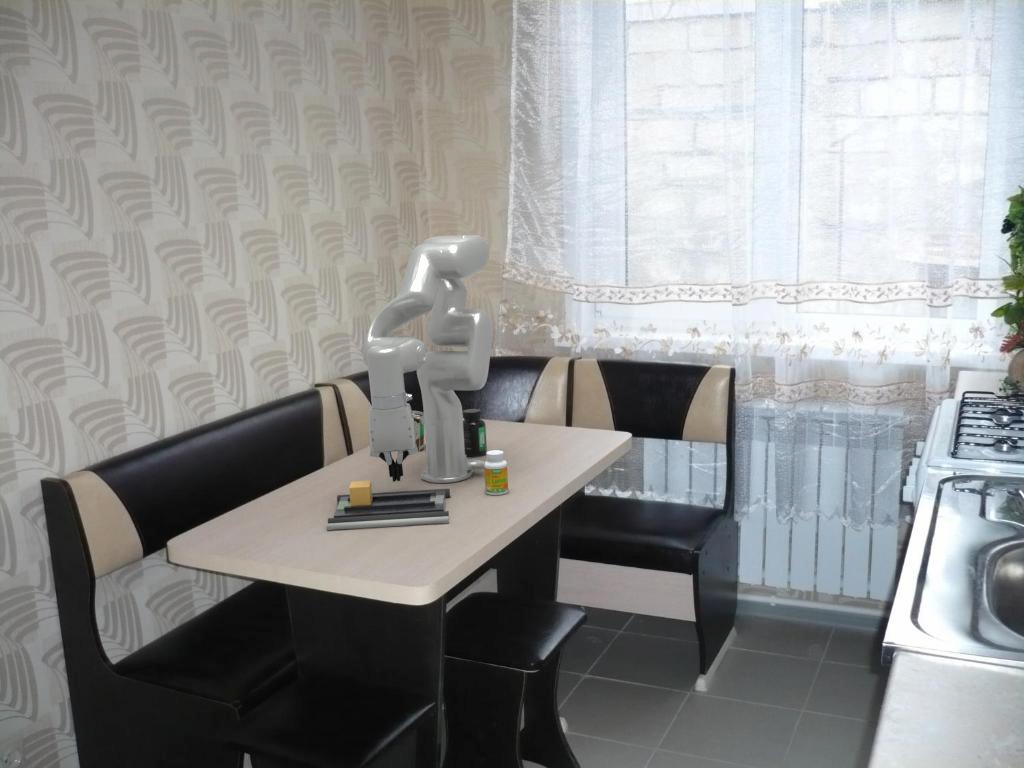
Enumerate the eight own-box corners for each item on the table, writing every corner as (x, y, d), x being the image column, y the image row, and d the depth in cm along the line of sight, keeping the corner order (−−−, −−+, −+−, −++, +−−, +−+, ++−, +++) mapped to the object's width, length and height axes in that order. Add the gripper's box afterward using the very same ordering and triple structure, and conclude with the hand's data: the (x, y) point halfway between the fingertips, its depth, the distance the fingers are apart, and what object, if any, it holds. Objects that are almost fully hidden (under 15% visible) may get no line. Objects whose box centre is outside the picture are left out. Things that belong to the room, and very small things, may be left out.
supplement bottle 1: (489, 456, 281) (487, 412, 279) (464, 458, 279) (461, 414, 277) (484, 450, 288) (481, 406, 285) (459, 452, 286) (456, 409, 284)
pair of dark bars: (450, 495, 247) (449, 487, 247) (448, 523, 227) (448, 514, 227) (338, 502, 247) (338, 494, 246) (327, 531, 227) (326, 522, 226)
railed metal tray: (445, 499, 245) (444, 487, 244) (444, 518, 231) (443, 505, 231) (341, 505, 244) (340, 493, 244) (334, 524, 230) (333, 512, 230)
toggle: (372, 499, 240) (371, 480, 239) (370, 506, 235) (369, 486, 234) (353, 500, 239) (351, 481, 239) (350, 507, 235) (349, 487, 234)
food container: (437, 447, 293) (435, 412, 291) (424, 452, 288) (421, 416, 286) (402, 443, 300) (399, 408, 298) (388, 448, 294) (386, 413, 293)
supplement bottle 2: (491, 497, 245) (489, 456, 243) (481, 491, 249) (479, 451, 248) (512, 493, 247) (510, 452, 245) (502, 487, 252) (499, 448, 250)
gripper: (423, 393, 237) (430, 471, 242) (356, 399, 237) (365, 476, 241) (421, 402, 230) (429, 482, 234) (353, 408, 229) (362, 487, 234)
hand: (396, 479), depth 238 cm, fingers closed
